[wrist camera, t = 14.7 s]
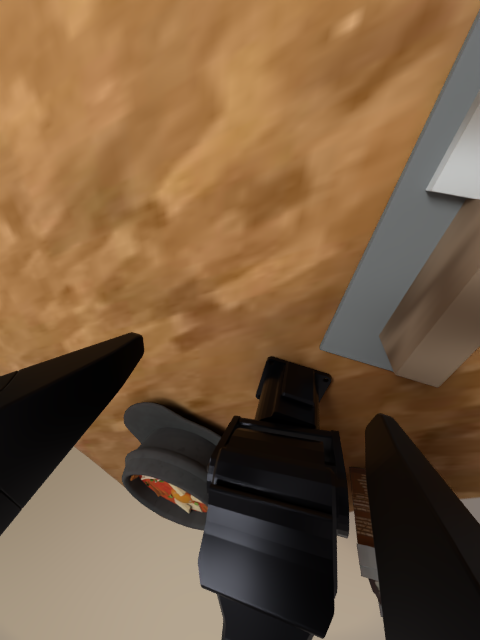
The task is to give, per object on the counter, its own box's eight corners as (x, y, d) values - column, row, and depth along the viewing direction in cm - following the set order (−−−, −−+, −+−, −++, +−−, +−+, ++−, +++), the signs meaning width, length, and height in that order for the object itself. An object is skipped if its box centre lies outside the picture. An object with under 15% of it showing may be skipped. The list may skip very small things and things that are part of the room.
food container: (415, 516, 30) (453, 640, 22) (364, 509, 33) (381, 618, 25) (404, 462, 26) (447, 594, 17) (346, 460, 28) (360, 573, 20)
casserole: (114, 413, 39) (72, 462, 32) (169, 373, 29) (125, 432, 22) (214, 490, 44) (196, 546, 38) (289, 479, 35) (283, 553, 28)
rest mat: (435, 380, 19) (437, 384, 19) (319, 346, 21) (319, 349, 20) (877, -78, 7) (912, -93, 7) (524, -86, 9) (534, -99, 8)
